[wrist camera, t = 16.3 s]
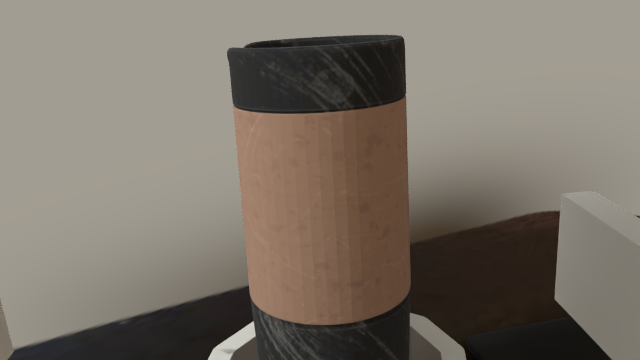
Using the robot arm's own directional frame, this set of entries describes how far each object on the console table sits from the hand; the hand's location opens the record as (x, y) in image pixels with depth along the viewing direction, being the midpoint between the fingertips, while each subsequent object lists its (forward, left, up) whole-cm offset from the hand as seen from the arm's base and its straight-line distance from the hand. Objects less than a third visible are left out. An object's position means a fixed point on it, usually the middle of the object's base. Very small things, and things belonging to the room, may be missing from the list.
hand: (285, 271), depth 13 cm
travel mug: (-7, +11, -16) cm, 20 cm away
